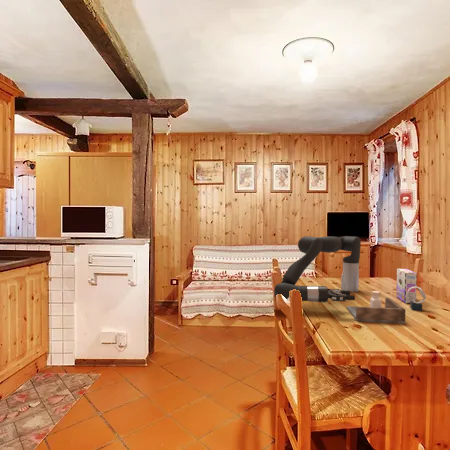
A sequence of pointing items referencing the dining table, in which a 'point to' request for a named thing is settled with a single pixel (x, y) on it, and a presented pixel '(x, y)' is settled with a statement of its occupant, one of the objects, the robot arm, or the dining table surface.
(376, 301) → the pepper shaker
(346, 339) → the dining table surface
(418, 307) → the watch
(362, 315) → the corner wooden bin
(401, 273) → the candy box
